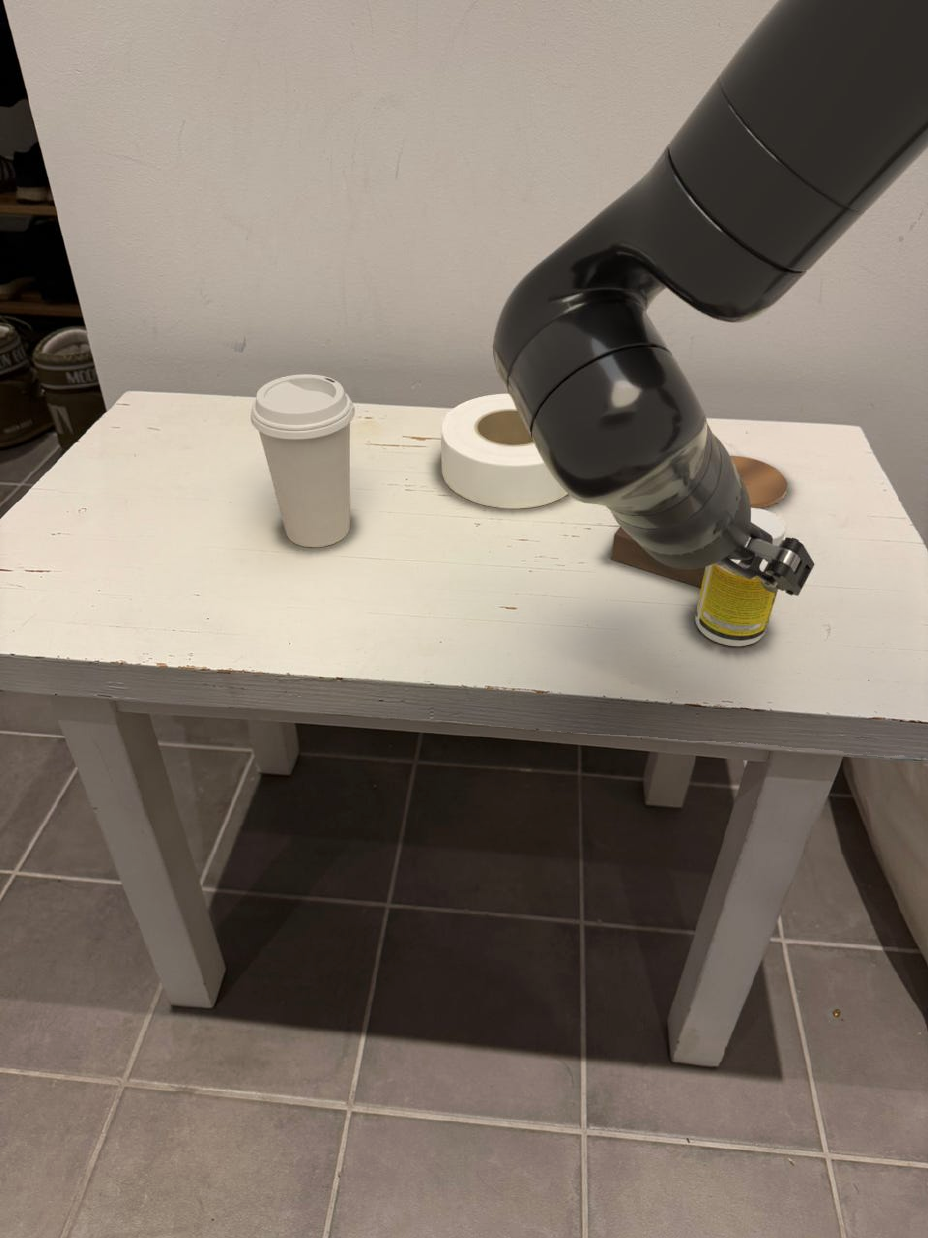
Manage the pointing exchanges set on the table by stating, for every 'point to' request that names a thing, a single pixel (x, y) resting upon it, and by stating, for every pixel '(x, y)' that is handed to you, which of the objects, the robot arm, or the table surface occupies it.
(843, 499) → the table surface
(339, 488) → the coffee cup
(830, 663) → the table surface
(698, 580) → the panel
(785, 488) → the coaster
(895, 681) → the table surface
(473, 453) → the tape roll
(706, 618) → the pill bottle
